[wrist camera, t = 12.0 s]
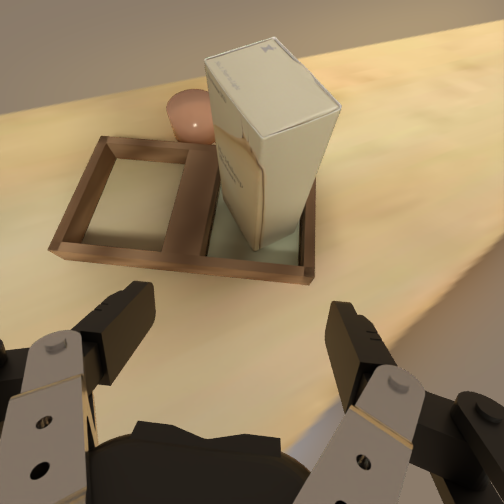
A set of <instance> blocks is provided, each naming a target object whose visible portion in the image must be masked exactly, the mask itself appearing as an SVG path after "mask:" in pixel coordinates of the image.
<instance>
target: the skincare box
mask: <svg viewBox="0 0 504 504" xmlns="http://www.w3.org/2000/svg"><path fill="white" fill-rule="evenodd" d="M204 64H205V71H206V77H207V84H208V91H209V98H210V105H211V113H212V120H213V127H214V134H215V142H216V149H217V156H218V164H219V171H220V179H221V186H222V194H223V200H224V202H225V204H226V205H227V207H228V209H229V211H230V213H231V214H232V216H233V218H234V220H235V221H236V223H237V225H238V227H239V228H240V230H241V232H242V233H243V235H244V237H245V238H246V240H247V242H248V243H249V245H250V247H251V248H252V250H253V251H257V250H259V249H261V248H264V247H266V246H268V245H270V244H272V243H274V242H276V241H278V240H280V239H282V238H284V237H286V236H288V235H290V234H292V233H294V232H295V230H296V227H297V224H298V222H299V219H300V216H301V214H302V211H303V208H304V206H305V203H306V200H307V198H308V195H309V193H310V190H311V187H312V185H313V182H314V179H315V177H316V174H317V172H318V169H319V166H320V163H321V161H322V158H323V156H324V153H325V150H326V148H327V145H328V142H329V140H330V137H331V134H332V132H333V129H334V126H335V124H336V121H337V119H338V116H339V114H340V111H341V107H342V106H341V104H340V103H339V102H338V101H337V100H336V99H335V98H334V97H333V96H332V95H331V94H330V92H329V91H328V90H327V89H325V87H324V86H323V85H322V84H321V83H320V82H319V81H318V80H317V79H316V78H315V77H314V75H313V74H312V73H311V72H310V71H309V70H308V69H307V68H306V67H305V66H304V65H303V64H302V63H301V62H299V61H298V59H297V58H296V57H295V56H294V55H292V53H290V51H289V50H287V48H285V46H284V45H282V44H281V42H280V41H279V40H278V39H277V38H276V37H272V38H269V39H267V40H262V41H259V42H256V43H252V44H249V45H246V46H243V47H239V48H237V49H233V50H230V51H226V52H224V53H220V54H217V55H214V56H211V57H207V58H205V59H204Z"/></svg>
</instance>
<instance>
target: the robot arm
mask: <svg viewBox="0 0 504 504" xmlns="http://www.w3.org/2000/svg"><path fill="white" fill-rule="evenodd" d="M155 314H156V310H155V298H154V286H153V284H152V283H151V282H142V281H133V282H132V283H131V284H130V285H129V286H128V287H126V288H125V289H124V290H123V291H122V290H120V291H118V292H116V293H114V294H112V295H110V296H109V297H107V298H106V299H105V300H104V301H103V302H102V303H101V305H100V304H99V305H98V306H97V307H96V308H95V309H94V311H92V312H90V313H89V314H88V315H87V316H86V317H85V318H84V319H82V320H81V321H80V322H79V323H78V324H77V325H76V326H74V327H73V328H72V329H71V330H63V331H58V332H54V333H51V334H48V335H46V336H44V337H42V338H40V339H39V340H37V341H36V342H35V343H34V344H33V345H32V346H31V347H30V348H22V349H14V350H5V347H4V344H3V342H2V340H0V504H397V503H398V500H399V497H400V492H401V489H402V486H403V482H404V478H405V475H406V471H407V467H408V464H409V463H411V464H413V465H415V466H418V467H420V468H422V469H425V470H427V471H429V472H430V474H431V476H432V478H433V481H434V483H435V485H436V487H437V490H438V492H439V494H440V496H441V499H442V501H443V503H444V504H504V503H503V502H502V500H503V501H504V407H503V406H502V405H500V404H498V403H497V402H495V401H494V400H492V399H490V398H488V397H486V396H484V395H481V394H478V393H475V392H469V391H466V392H461V393H459V394H458V396H457V398H456V400H455V401H452V400H449V399H446V398H443V397H440V396H438V395H435V394H432V393H429V392H427V391H425V390H424V387H423V386H422V384H421V383H420V381H419V380H418V379H417V378H416V377H415V376H413V375H412V374H411V373H409V372H408V371H406V370H404V369H402V368H400V367H398V366H397V364H396V363H395V361H394V359H393V358H392V356H391V354H390V353H389V351H388V349H387V347H386V346H385V344H384V342H383V341H382V339H381V337H380V335H379V334H378V332H377V330H376V329H375V327H374V325H373V324H372V323H371V322H370V321H369V320H368V319H367V318H366V317H364V316H363V315H357V313H356V311H355V309H354V307H353V305H352V304H351V303H350V302H340V301H332V303H331V306H330V311H329V315H328V320H327V325H326V330H325V344H326V348H327V352H328V355H329V359H330V362H331V366H332V370H333V373H334V377H335V380H336V384H337V388H338V391H339V395H340V398H341V402H342V406H343V409H344V413H345V416H344V417H343V419H342V421H341V423H340V424H339V426H338V428H337V429H336V431H335V433H334V434H333V436H332V438H331V440H330V441H329V443H328V445H327V447H326V448H325V450H324V451H323V453H322V455H321V457H320V458H319V460H318V462H317V463H316V465H315V467H314V468H313V470H312V472H310V471H309V470H308V469H307V468H306V467H305V466H304V465H302V464H301V463H300V462H298V461H297V460H296V459H294V458H292V457H291V456H289V455H287V454H285V453H283V452H281V444H280V438H275V437H266V436H258V435H250V434H240V435H233V436H227V437H220V438H213V439H204V438H201V437H199V436H197V435H194V434H192V433H190V432H187V431H185V430H183V429H180V428H178V427H176V426H174V425H168V424H160V423H152V422H144V421H138V422H137V424H136V426H135V428H134V430H133V432H132V434H127V435H123V436H119V437H116V438H113V439H111V440H108V441H106V442H104V443H102V444H100V445H99V443H98V434H97V423H96V413H95V403H94V395H93V390H94V389H95V387H96V386H97V385H98V384H99V385H108V386H111V384H112V383H113V382H114V380H115V379H116V377H117V376H118V374H119V373H120V371H121V370H122V369H123V367H124V366H125V364H126V363H127V361H128V360H129V358H130V357H131V356H132V354H133V353H134V351H135V350H136V348H137V347H138V345H139V344H140V343H141V341H142V340H143V338H144V337H145V335H146V334H147V332H148V331H149V330H150V328H151V327H152V325H153V323H154V320H155ZM490 481H491V482H492V484H493V485H494V487H495V488H496V490H497V492H498V493H499V495H500V497H501V498H502V500H501V498H500V497H499V495H498V493H497V492H496V490H495V489H494V487H493V485H492V484H491V482H490Z"/></svg>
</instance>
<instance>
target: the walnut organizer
mask: <svg viewBox="0 0 504 504" xmlns="http://www.w3.org/2000/svg"><path fill="white" fill-rule="evenodd" d="M116 158H120V159H132V160H144V161H155V162H167V163H178V164H185V167H184V170H183V174H182V178H181V181H180V185H179V189H178V192H177V196H176V200H175V203H174V207H173V210H172V214H171V218H170V221H169V225H168V229H167V232H166V236H165V240H164V243H163V247H162V251H161V252H157V251H147V250H138V249H128V248H118V247H108V246H98V245H88V244H81V242H82V240H83V237H84V235H85V232H86V230H87V228H88V225H89V223H90V220H91V218H92V216H93V213H94V211H95V208H96V206H97V203H98V201H99V199H100V196H101V194H102V191H103V189H104V187H105V184H106V182H107V179H108V177H109V175H110V172H111V170H112V167H113V165H114V163H115V160H116ZM220 181H221V179H220V171H219V164H218V156H217V149H216V145H206V144H194V143H182V142H170V141H158V140H145V139H133V138H121V137H109V136H101V137H100V139H99V141H98V143H97V145H96V147H95V149H94V152H93V154H92V156H91V158H90V160H89V162H88V164H87V167H86V169H85V171H84V173H83V175H82V177H81V179H80V182H79V184H78V186H77V188H76V190H75V192H74V194H73V196H72V199H71V201H70V203H69V205H68V207H67V209H66V211H65V214H64V216H63V218H62V220H61V222H60V224H59V226H58V229H57V231H56V233H55V235H54V237H53V239H52V241H51V244H50V246H49V248H48V251H50V252H52V253H54V254H56V255H57V256H59V257H61V258H63V259H64V260H73V261H82V262H92V263H102V264H111V265H121V266H130V267H140V268H149V269H159V270H168V271H178V272H187V273H197V274H206V275H216V276H226V277H235V278H245V279H254V280H264V281H273V282H283V283H292V284H302V285H310V283H311V282H312V280H313V279H314V277H315V200H316V177H315V179H314V182H313V185H312V187H311V190H310V193H309V195H308V198H307V200H306V203H305V206H304V208H303V211H302V221H301V248H300V266H298V253H299V228H300V219H299V222H298V224H297V227H296V230H295V232H294V233H292V234H290V235H288V236H286V237H284V238H282V239H280V240H278V241H276V242H274V243H272V244H270V245H268V246H266V247H264V248H261V249H259V250H257V251H253V250H252V248H251V247H250V245H249V243H248V242H247V240H246V238H245V237H244V235H243V233H242V232H241V230H240V228H239V227H238V225H237V223H236V221H235V220H234V218H233V216H232V214H231V213H230V211H229V209H228V207H227V205H226V204H225V202H224V200H223V194H222V186H221V187H220V193H219V198H218V203H217V208H216V213H215V218H214V224H213V229H212V234H211V239H210V244H209V249H208V254H207V257H206V252H207V247H208V242H209V236H210V231H211V226H212V221H213V216H214V211H215V206H216V201H217V196H218V191H219V186H220Z"/></svg>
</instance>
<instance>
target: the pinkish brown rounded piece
mask: <svg viewBox="0 0 504 504" xmlns="http://www.w3.org/2000/svg"><path fill="white" fill-rule="evenodd" d="M166 109H167V113H168V116H169V119H170V122H171V125H172V128H173V131H174V134H175V137H176V139H177V141H178V142H182V143H194V144H206V145H211V144H212V143H214V142H215V134H214V127H213V120H212V113H211V105H210V98H209V92H207V91H204V90H199V89H189V90H184V91H181V92H179V93H177V94H175V95H174V96H173V97H172V98H171V99H170V100H169V101H168V103H167V107H166Z"/></svg>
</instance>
